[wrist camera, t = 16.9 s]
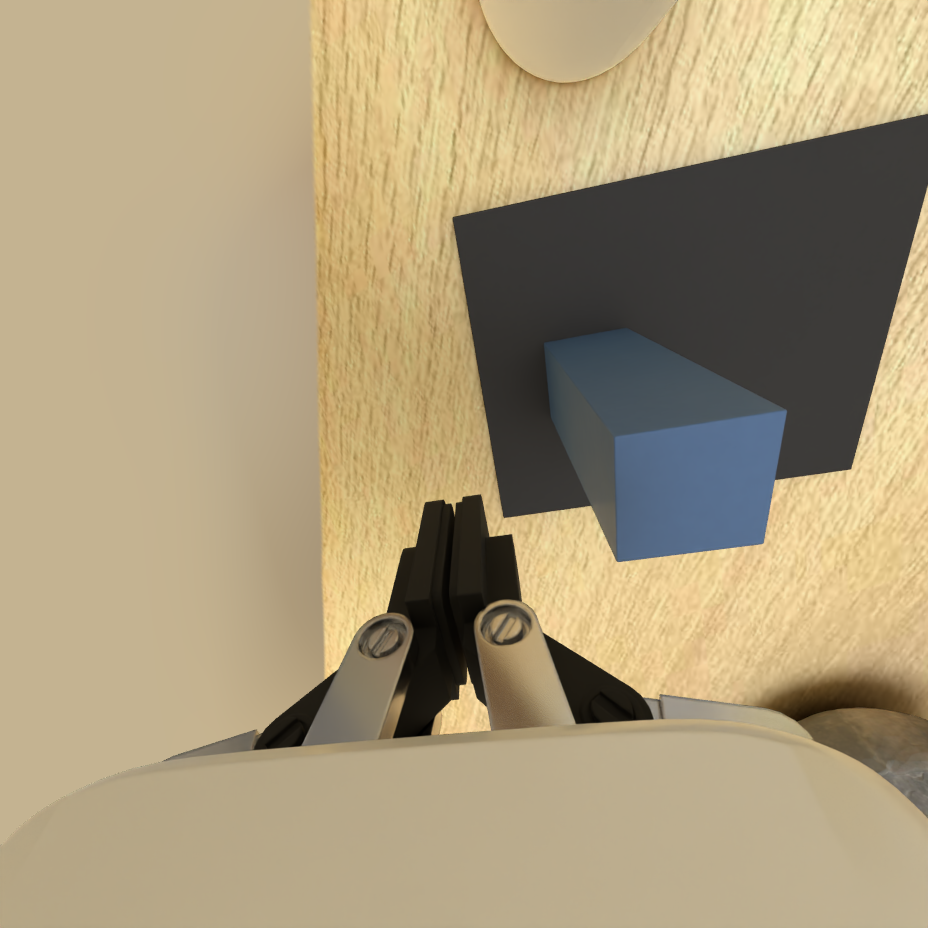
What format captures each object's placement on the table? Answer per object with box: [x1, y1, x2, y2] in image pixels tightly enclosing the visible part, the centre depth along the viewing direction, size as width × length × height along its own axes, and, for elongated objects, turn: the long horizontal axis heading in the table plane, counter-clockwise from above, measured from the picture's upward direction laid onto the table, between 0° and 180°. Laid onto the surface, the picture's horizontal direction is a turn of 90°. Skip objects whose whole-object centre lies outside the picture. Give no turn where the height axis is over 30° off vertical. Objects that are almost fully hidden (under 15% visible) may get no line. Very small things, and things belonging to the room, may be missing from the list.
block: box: [544, 328, 787, 562], centre depth 18 cm, size 4×4×13 cm
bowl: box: [797, 707, 928, 818], centre depth 35 cm, size 18×18×8 cm
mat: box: [453, 114, 928, 518], centre depth 23 cm, size 22×18×1 cm
